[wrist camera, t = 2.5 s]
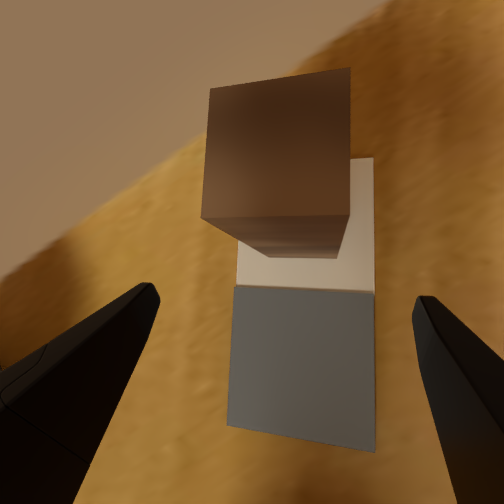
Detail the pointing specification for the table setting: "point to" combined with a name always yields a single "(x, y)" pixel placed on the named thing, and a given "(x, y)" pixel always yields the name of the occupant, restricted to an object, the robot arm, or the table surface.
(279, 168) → the walnut pillar
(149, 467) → the table surface
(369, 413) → the mat
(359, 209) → the tile
